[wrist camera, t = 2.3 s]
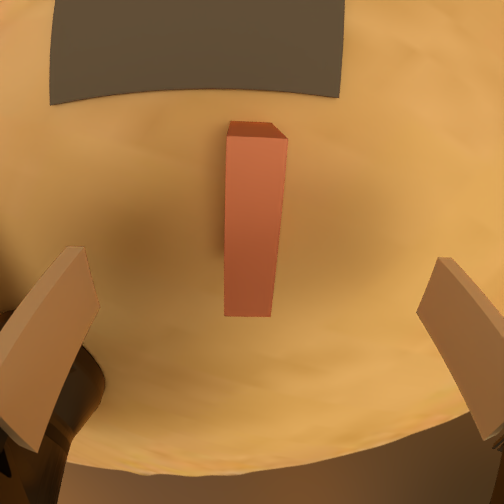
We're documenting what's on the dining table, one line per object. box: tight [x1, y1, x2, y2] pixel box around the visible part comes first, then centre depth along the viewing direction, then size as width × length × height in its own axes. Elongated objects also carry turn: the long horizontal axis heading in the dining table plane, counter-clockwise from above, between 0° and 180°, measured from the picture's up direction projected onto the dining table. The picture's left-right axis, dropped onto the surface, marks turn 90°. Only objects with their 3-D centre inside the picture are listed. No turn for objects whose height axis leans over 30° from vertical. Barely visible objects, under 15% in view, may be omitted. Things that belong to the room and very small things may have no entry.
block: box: [224, 121, 288, 317], centre depth 16 cm, size 2×9×6 cm, turn 177°
